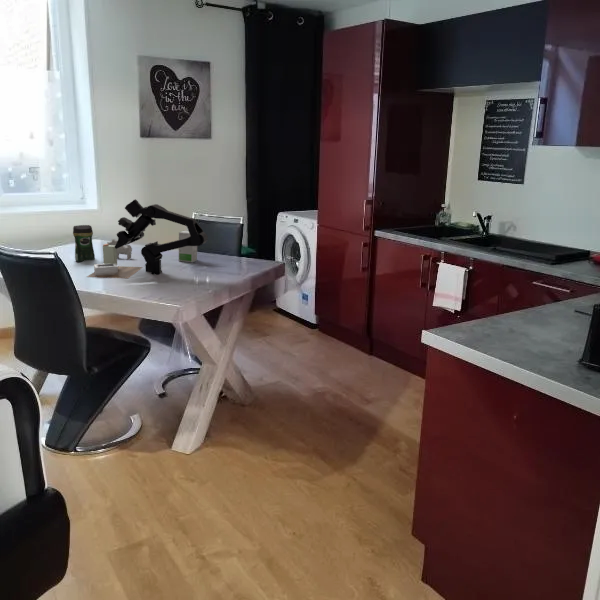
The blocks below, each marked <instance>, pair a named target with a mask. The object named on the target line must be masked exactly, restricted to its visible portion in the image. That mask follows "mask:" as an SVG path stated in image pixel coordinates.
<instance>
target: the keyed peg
mask: <svg viewBox="0 0 600 600" xmlns="http://www.w3.org/2000/svg"><path fill="white" fill-rule="evenodd" d="M102 255H103V256H102V258H103V264H110V263H116V264H117V265H118V258H117V252H116V248H115V245H109V244H107V243H104V244H102Z"/></svg>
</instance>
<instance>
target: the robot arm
mask: <svg viewBox="0 0 600 600" xmlns="http://www.w3.org/2000/svg"><path fill="white" fill-rule="evenodd" d="M124 209H125V211H126V212H127V213H128V214H129V215H130V216H131V217H132V218H136V220H135V221H132V220H131V219H130V218H127V217H120V218H119V220H118V221H117V222H118V225H119V226H121V227H123V228H125V229H124V230H120V231H118V232H117V233H116V237H117V243H116V245H115V248H116V249H117V248H119V247H122V246H126V245H130V244H131V243H134V242H136V241H139V240H141V239H143V237H145V233H144V232H145V231H146V230H147V228H148V227H149V226H150V225H151V226H152V227H153V226H156V225H157V224H156V219H157V220H159V219H160V220H161V219H162V220H166V221H169V222H173V223H176V224H178V225H182V226H186V228H187V229H188V230H187V231H189V233H190V237H188V238H184V239H180V240H179V239H176V240H173V241H168V242H165V243H159V242H158V241H155V242H149V243H147V244H145V245H144V246H143V247H142V248H141V249H140V253H141V256H142V257H143V258H144V261H145V262H146V263H145V265H144V267H145V273H146V272H147V273H151V274H152V275H160V274H161V273H163V270H162V258H163V254H162V253H164V252H165V253H166V252H169V251H173V250H176V249H179V248H181V247H185V246H197V247H199V246H202V245H204V244H206V243H207V242H208V240H209V239H208V238H209V237H208V236H209V235H207V233H206V232H205V231H204V230H203V228H202V227H201V226H200V225H199V224H198V222H197V220H196V219H195V218H194V217H189V216H186V215H183V214H179V213H176V212H173V211H170V210H167V208H165V207H163V206H162V205H159V204H156V203H155V204H151V205H148V206H144V207H143V206H142V205H141V204H140V202H139V201H138V199H133V200H132V201H131V202H129V203H128V204H126V205H125V207H124Z"/></svg>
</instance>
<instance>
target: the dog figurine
mask: <svg viewBox="0 0 600 600" xmlns="http://www.w3.org/2000/svg"><path fill="white" fill-rule="evenodd" d="M117 241H118V239H117V240H116V238H112V239H111V241H107V242H106V244H109V245H116V243H117ZM132 251H133V248H132V246H131V245H130V244H127V245H124V246H122V247H119V248H117V249H116V252H117V259H119V258H120V255H125V256H127V257H126V261H129V260H130V258H132Z"/></svg>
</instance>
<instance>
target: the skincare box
mask: <svg viewBox="0 0 600 600" xmlns="http://www.w3.org/2000/svg"><path fill="white" fill-rule="evenodd" d="M188 237H190V233H189V230H182V231H179V232H178V240H180V239H184V238H188ZM197 260H198V246H185V247H181V248H178V262H187V263H194V262H197Z"/></svg>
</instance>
